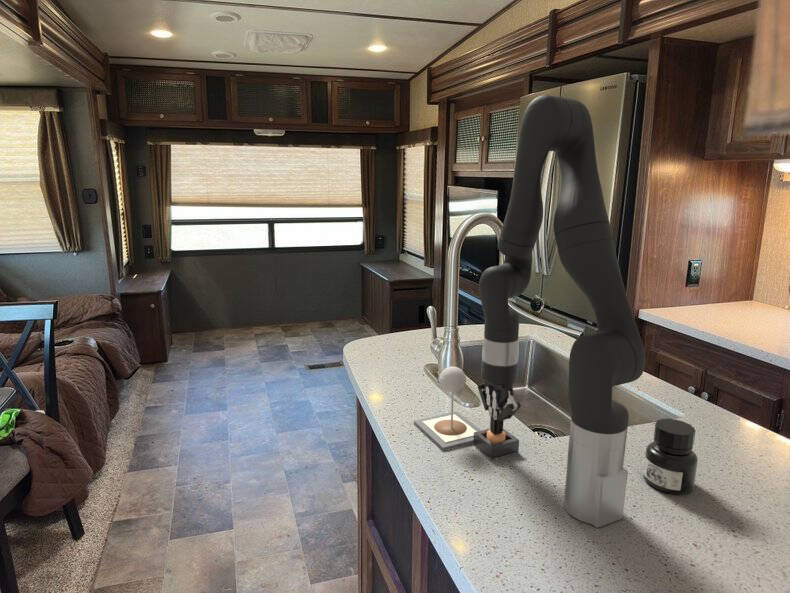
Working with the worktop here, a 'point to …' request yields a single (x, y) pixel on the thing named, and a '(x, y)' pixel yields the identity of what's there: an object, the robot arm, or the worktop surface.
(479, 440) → the button housing
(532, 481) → the worktop surface
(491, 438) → the button
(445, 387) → the lollipop
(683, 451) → the ink bottle
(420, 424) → the board
